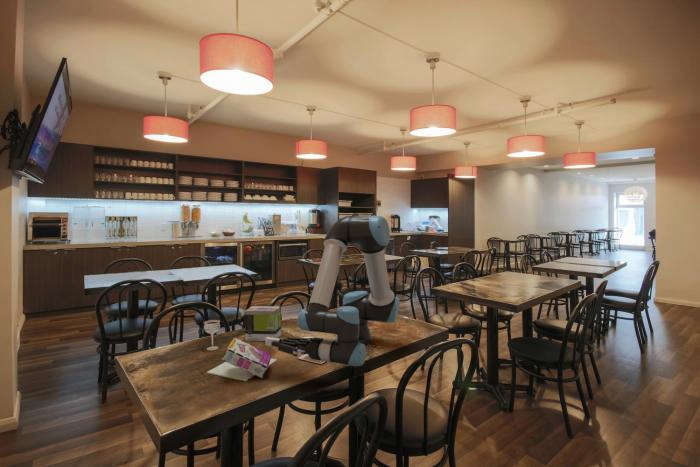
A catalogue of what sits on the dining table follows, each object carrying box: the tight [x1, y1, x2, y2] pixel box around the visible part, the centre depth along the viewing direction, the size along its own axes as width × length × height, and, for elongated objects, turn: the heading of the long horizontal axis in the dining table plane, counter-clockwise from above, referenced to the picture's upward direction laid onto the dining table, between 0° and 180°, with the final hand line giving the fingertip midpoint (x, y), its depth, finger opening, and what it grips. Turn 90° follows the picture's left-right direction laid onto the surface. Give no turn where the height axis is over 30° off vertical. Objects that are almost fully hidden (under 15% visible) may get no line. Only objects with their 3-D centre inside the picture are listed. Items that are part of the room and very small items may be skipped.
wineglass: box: [203, 319, 221, 351], centre depth 161 cm, size 7×7×12 cm
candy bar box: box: [221, 337, 272, 379], centre depth 135 cm, size 11×5×16 cm
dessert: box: [297, 354, 326, 365], centre depth 150 cm, size 12×12×5 cm
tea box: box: [244, 305, 282, 342], centre depth 174 cm, size 15×10×15 cm, turn 84°
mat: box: [206, 357, 278, 382], centre depth 141 cm, size 18×20×1 cm
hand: (266, 341), depth 136 cm, fingers closed
